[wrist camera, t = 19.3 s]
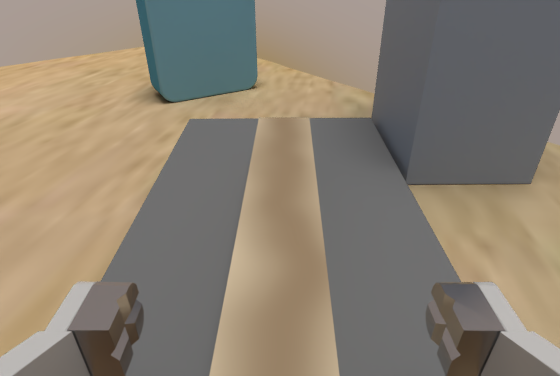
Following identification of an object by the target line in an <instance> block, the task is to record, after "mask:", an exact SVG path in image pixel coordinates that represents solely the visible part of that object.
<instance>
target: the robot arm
mask: <svg viewBox="0 0 560 376" xmlns="http://www.w3.org/2000/svg"><path fill="white" fill-rule="evenodd" d="M138 294H139V291H138V288H137V285H136V283H130V282H77V283H76V284H75V285H73V287H72V288H71V290H70V291H69V293H68V295H67V296H66V298H65V299H64V301H63V302H62V304H61V306H60V307H59V309H58V310H57V312H56V313H55V315H54V317H53V318H52V320H51V321H50V323H49V324H48V326H47V328H46V329H45V331H38V332H37V333H35V334H34V335H32V336H31V337H29V338H28V339H26V340H25V341H23V342H22V343H21V344H19V345H18V346H16V347H15V348H13V349H12V350H10V351H9V352H7V353H6V354H4V355H3V356H1V357H0V376H126V373H127V370H128V368H129V365H130V362H131V360H132V357H133V354H134V353H133V350H132V345H133V344H134V343H135V342H136V341H137V340H138V339H139V338H140V335H141V332H142V329H143V322H144V310H143V306H142V304H141V303H140V302H139V301H138V300H136V299H137V296H138ZM431 294H432V296H433V298H434V300H432V301H431V302H430V303H429V304H428V305H427V309H426V326H427V330H428V333H429V336H430V339H431V340H432V341H434V342H435V343H436V344H437V345H438V346H439V348H438V351H437V356H438V359H439V361H440V364H441V366H442V368H443V371H444V373H445V376H560V349H559V348H558V347H556V346H555V345H553V344H552V343H550V342H549V341H547V340H546V339H544V338H543V337H541V336H540V335H538V334H537V333H535V332H528V331H527V329H526V328H525V326H524V325H523V323H522V322H521V321H520V319H519V318H518V316H517V315H516V313H515V312H514V310H513V309H512V307H511V306H510V304H509V303H508V301H507V300H506V298H505V297H504V295H503V294H502V292H501V291H500V289H499V288H498V287H497V285H496V284H494V283H493V282H473V283H472V282H440V283H435V284H434V286H433V288H432V291H431Z"/></svg>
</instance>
